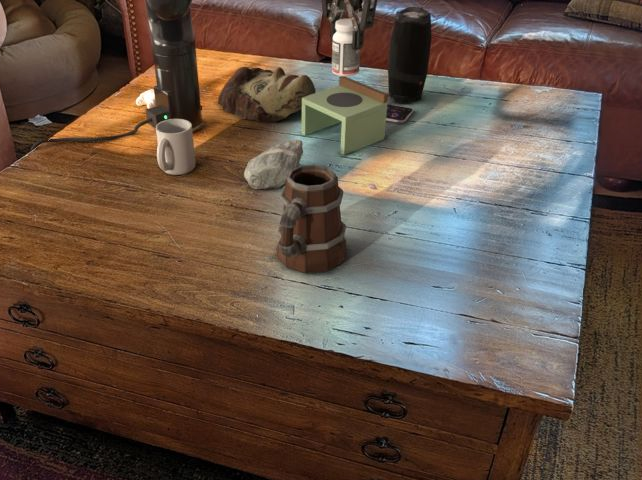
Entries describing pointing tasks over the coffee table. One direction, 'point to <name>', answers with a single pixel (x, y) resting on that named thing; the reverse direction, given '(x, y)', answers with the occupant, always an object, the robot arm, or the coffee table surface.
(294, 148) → the decorative stone
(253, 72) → the sculpture
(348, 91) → the green footstool with circle
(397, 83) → the portable speaker
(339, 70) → the pill bottle
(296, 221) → the mug
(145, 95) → the astronaut figurine
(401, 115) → the smartphone
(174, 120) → the cup
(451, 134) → the coffee table surface
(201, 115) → the robot arm
